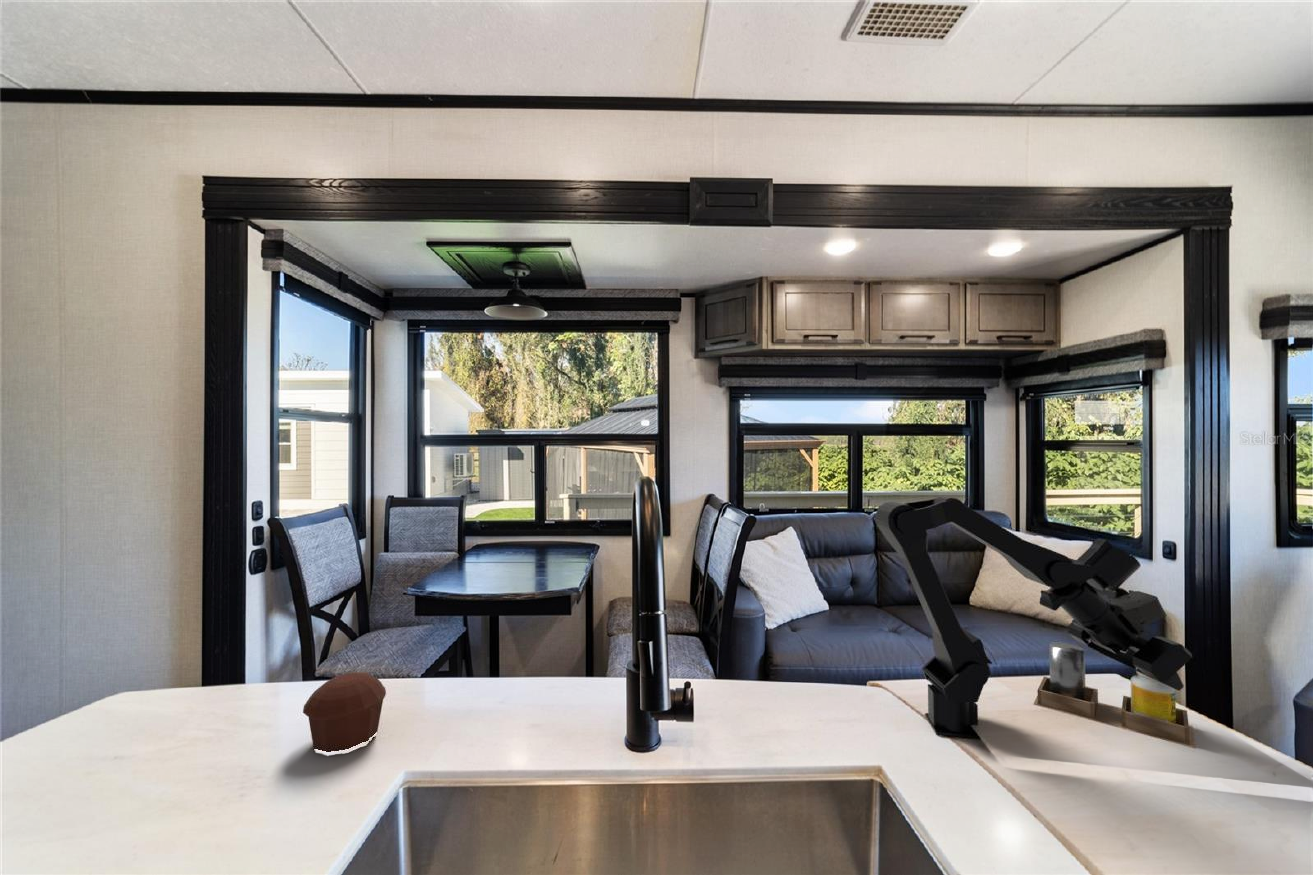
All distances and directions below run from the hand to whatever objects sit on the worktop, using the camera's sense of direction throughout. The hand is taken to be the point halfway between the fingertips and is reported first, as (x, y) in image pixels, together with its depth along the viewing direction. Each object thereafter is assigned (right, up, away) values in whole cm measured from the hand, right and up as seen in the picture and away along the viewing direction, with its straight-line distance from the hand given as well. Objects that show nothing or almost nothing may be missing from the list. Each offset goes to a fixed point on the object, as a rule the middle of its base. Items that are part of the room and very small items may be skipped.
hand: (1162, 679), depth 86 cm
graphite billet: (-10, -8, +8) cm, 15 cm away
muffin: (-133, -9, -2) cm, 134 cm away
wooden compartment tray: (-5, -9, +4) cm, 11 cm away
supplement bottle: (-2, -8, 0) cm, 8 cm away
